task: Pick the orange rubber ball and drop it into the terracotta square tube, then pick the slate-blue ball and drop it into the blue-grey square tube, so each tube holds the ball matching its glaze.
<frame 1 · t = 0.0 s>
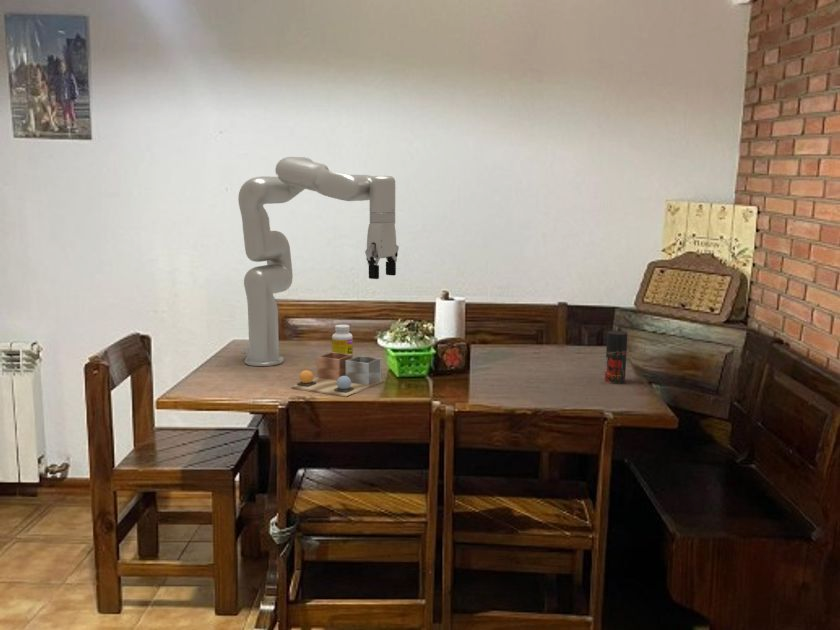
hand: (382, 276, 240), 31 cm above the table, tool pointing down, fingers open, 9 cm apart
orange ball: (306, 377, 237), point 3 cm above the table, touching stand
supplement bottle: (342, 365, 264), on the table
slate ball: (344, 382, 231), point 3 cm above the table, touching stand
deodorant: (614, 382, 246), on the table
stand: (338, 384, 239), on the table
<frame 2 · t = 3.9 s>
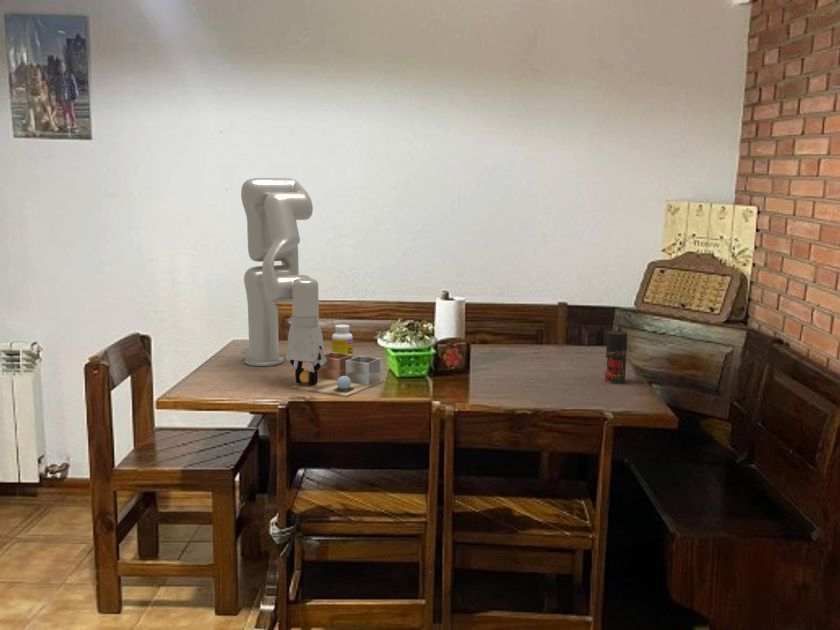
hand: (306, 382, 237), 1 cm above the table, tool pointing down, fingers closed on orange ball, stand, 4 cm apart
orange ball: (306, 377, 237), point 3 cm above the table, touching gripper, stand
everything else where it was.
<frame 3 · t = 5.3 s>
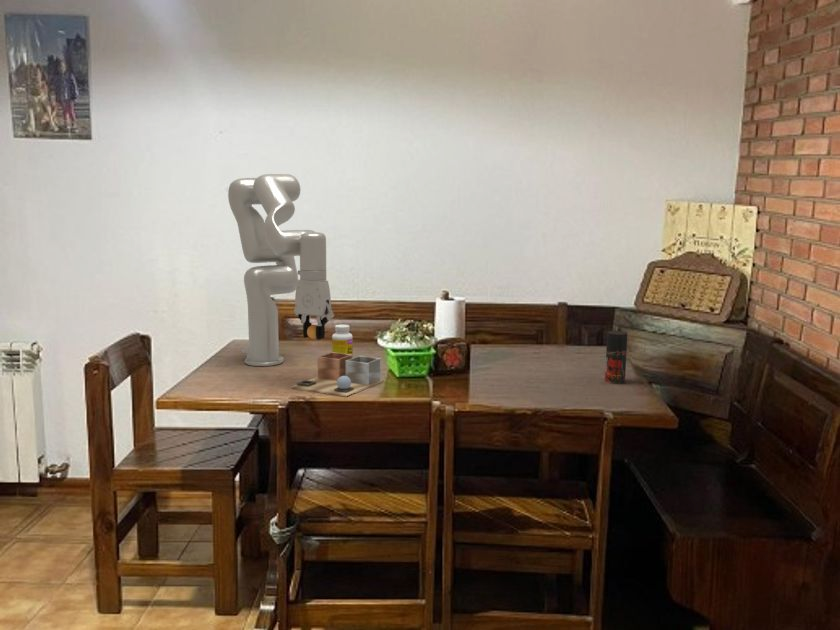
hand: (313, 337, 237), 14 cm above the table, tool pointing down, fingers closed on orange ball, 3 cm apart
orange ball: (313, 331, 237), point 16 cm above the table, touching gripper
everything else where it was.
when the fingers open (8 cm above the table, at t = 6.8 s): orange ball drops 7 cm, resting on stand.
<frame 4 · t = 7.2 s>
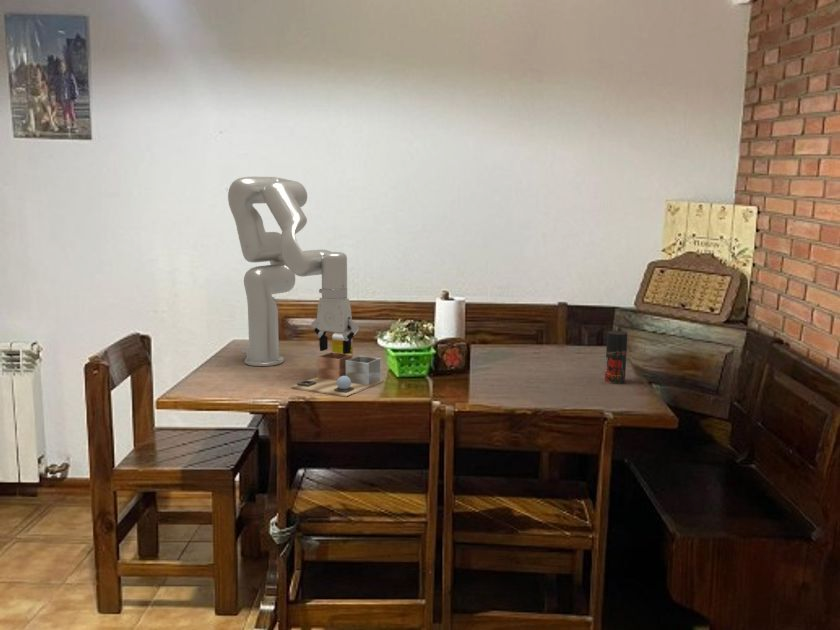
hand: (335, 351, 245), 8 cm above the table, tool pointing down, fingers open, 7 cm apart
orange ball: (335, 370, 246), point 3 cm above the table, touching stand
everything else where it was.
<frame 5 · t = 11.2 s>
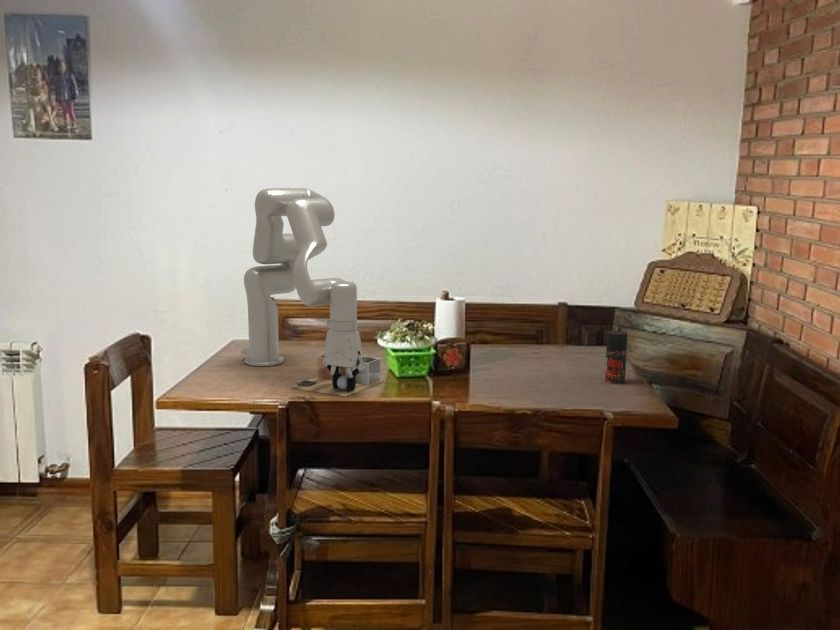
hand: (344, 388, 231), 1 cm above the table, tool pointing down, fingers closed on slate ball, stand, 4 cm apart
slate ball: (344, 382, 231), point 3 cm above the table, touching gripper, stand
everything else where it was.
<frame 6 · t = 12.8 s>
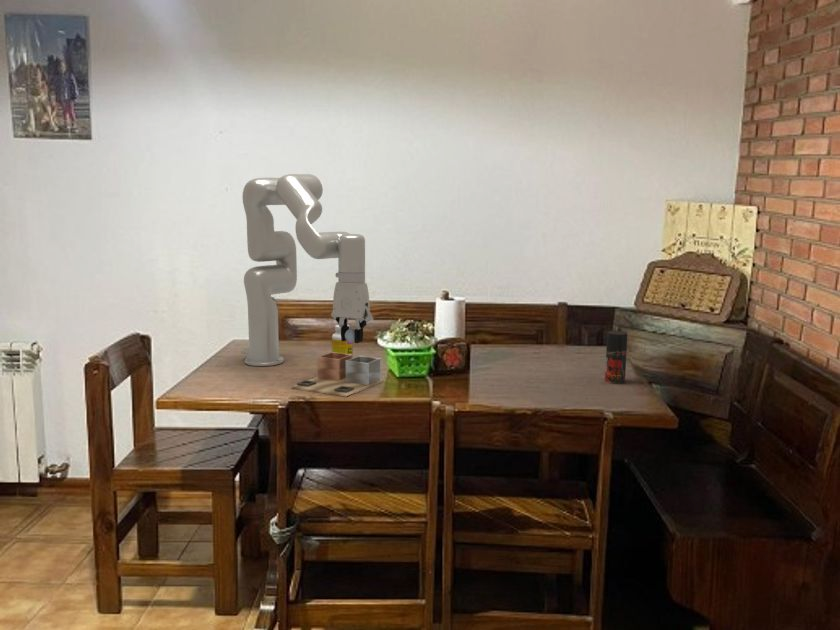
hand: (351, 340, 233), 14 cm above the table, tool pointing down, fingers closed on slate ball, 3 cm apart
slate ball: (351, 335, 233), point 16 cm above the table, touching gripper
everything else where it was.
when the fingers open (8 cm above the table, at t = 14.2 s): slate ball drops 7 cm, resting on stand.
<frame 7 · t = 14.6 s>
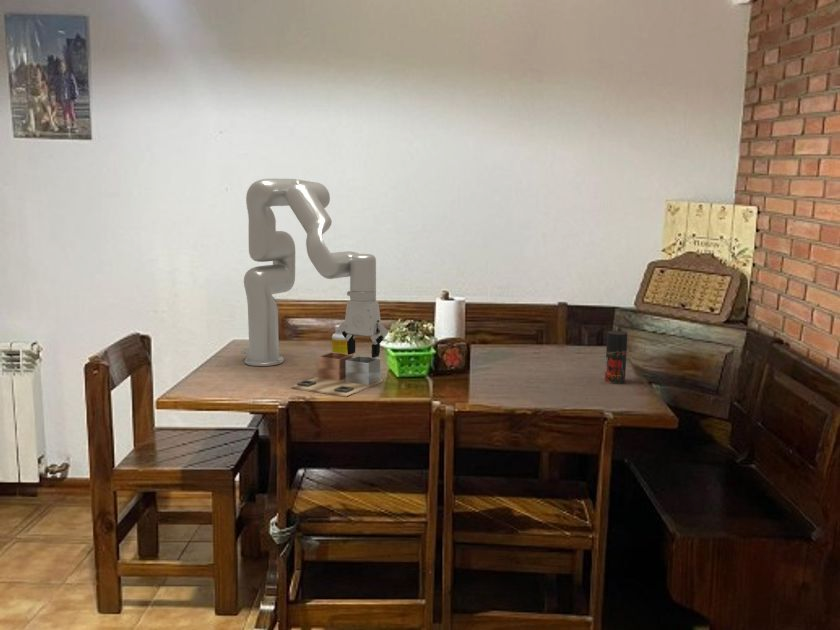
hand: (363, 355, 241), 8 cm above the table, tool pointing down, fingers open, 7 cm apart
slate ball: (363, 374, 242), point 3 cm above the table, touching stand
everything else where it was.
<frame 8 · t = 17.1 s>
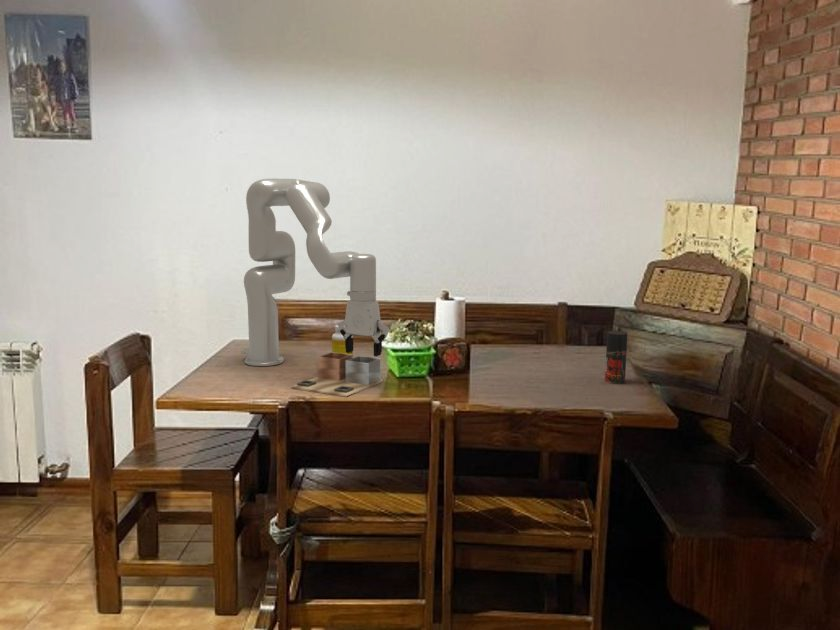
hand: (363, 353, 240), 9 cm above the table, tool pointing down, fingers open, 9 cm apart
nothing on the table moved.
at the end: orange ball 0.1 cm from the target spot on the stand, point 2.6 cm above the stand's base; slate ball 0.0 cm from the target spot on the stand, point 2.6 cm above the stand's base; the gripper is holding nothing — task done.
